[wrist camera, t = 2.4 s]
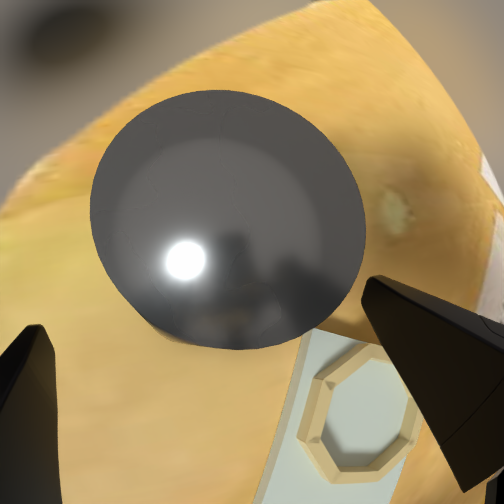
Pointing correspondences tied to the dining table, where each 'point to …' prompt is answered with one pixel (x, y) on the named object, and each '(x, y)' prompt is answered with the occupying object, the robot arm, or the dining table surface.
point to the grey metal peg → (227, 220)
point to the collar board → (340, 426)
